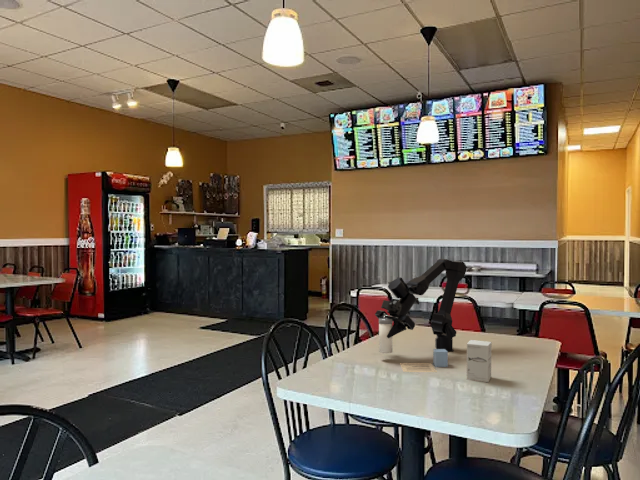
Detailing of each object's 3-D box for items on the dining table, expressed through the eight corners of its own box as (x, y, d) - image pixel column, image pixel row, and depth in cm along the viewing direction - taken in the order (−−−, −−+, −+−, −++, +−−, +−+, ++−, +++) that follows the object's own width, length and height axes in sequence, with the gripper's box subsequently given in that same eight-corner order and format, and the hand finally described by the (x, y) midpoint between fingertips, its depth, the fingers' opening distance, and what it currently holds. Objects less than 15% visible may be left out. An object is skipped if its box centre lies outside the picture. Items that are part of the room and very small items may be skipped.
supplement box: (466, 380, 167) (465, 343, 167) (470, 374, 174) (470, 339, 174) (488, 383, 164) (488, 345, 164) (491, 377, 170) (491, 341, 170)
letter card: (430, 363, 188) (430, 363, 188) (437, 372, 176) (437, 371, 176) (399, 363, 189) (399, 363, 189) (403, 372, 177) (403, 371, 177)
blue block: (445, 364, 187) (445, 349, 187) (447, 367, 183) (447, 351, 183) (433, 364, 187) (433, 348, 187) (435, 367, 183) (435, 351, 183)
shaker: (394, 351, 194) (394, 318, 194) (389, 354, 189) (389, 320, 189) (381, 349, 197) (381, 317, 196) (376, 352, 192) (376, 319, 192)
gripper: (378, 290, 203) (357, 319, 197) (409, 295, 187) (387, 327, 181) (392, 307, 207) (372, 337, 201) (424, 313, 191) (403, 345, 185)
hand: (383, 336), depth 192 cm, fingers closed on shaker, 5 cm apart
